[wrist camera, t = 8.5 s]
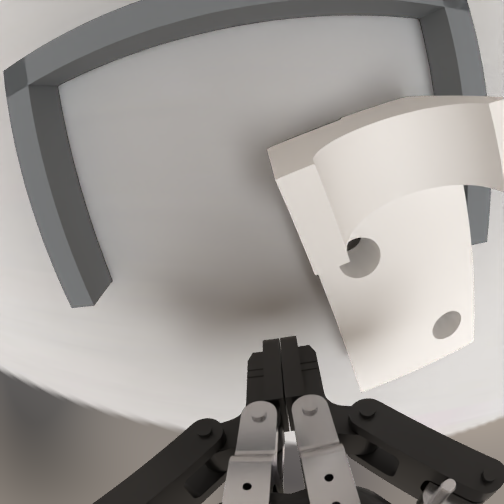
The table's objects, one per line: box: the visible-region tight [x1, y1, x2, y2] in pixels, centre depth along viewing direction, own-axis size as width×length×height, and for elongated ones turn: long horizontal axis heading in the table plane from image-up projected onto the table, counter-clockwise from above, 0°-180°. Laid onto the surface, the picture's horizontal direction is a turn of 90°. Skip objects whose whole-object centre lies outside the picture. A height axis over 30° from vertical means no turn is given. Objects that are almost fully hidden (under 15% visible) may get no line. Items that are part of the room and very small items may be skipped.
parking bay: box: [3, 0, 491, 308], centre depth 12 cm, size 12×21×2 cm, turn 101°
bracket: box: [267, 96, 504, 393], centre depth 12 cm, size 13×7×8 cm, turn 24°
